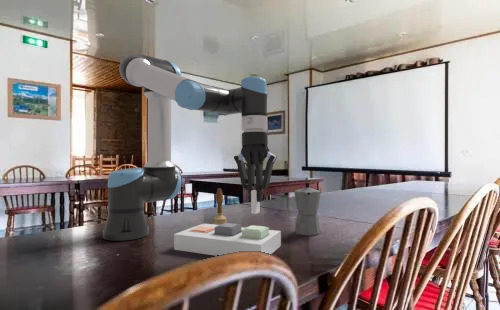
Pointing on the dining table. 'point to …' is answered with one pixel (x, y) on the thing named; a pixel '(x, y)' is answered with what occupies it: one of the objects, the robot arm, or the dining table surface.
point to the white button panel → (224, 242)
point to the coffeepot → (307, 211)
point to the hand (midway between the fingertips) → (255, 212)
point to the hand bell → (219, 209)
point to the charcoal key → (228, 229)
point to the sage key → (255, 232)
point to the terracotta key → (202, 229)
